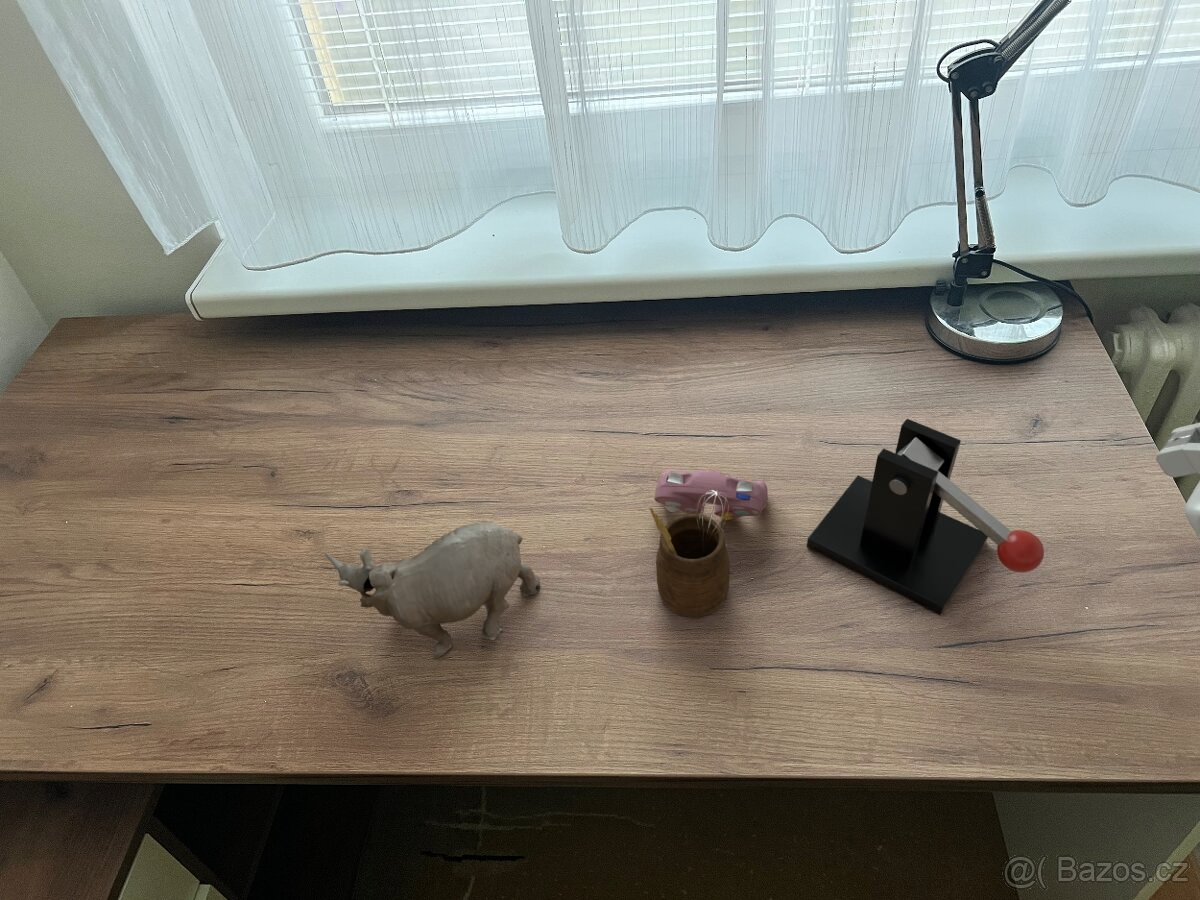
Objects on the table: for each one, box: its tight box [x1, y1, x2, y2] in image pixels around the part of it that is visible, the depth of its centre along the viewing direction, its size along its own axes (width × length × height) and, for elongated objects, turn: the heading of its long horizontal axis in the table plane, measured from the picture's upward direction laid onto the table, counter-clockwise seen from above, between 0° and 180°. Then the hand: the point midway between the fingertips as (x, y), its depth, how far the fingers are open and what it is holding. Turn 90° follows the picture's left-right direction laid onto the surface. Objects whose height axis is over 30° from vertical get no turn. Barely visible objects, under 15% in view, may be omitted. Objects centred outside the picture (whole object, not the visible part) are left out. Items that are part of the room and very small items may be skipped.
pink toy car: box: [654, 469, 769, 521], centre depth 77 cm, size 10×5×7 cm
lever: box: [898, 437, 1045, 574], centre depth 67 cm, size 13×3×3 cm, turn 52°
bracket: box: [806, 418, 989, 616], centre depth 71 cm, size 12×9×12 cm
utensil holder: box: [648, 490, 731, 618], centre depth 69 cm, size 6×6×12 cm
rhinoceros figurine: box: [324, 522, 541, 659], centre depth 70 cm, size 8×14×15 cm
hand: (1168, 453), depth 54 cm, fingers closed
